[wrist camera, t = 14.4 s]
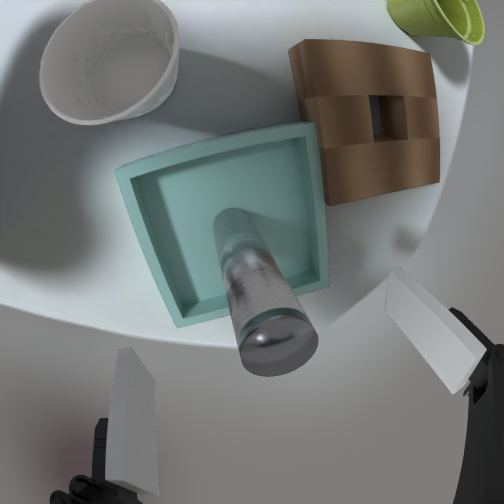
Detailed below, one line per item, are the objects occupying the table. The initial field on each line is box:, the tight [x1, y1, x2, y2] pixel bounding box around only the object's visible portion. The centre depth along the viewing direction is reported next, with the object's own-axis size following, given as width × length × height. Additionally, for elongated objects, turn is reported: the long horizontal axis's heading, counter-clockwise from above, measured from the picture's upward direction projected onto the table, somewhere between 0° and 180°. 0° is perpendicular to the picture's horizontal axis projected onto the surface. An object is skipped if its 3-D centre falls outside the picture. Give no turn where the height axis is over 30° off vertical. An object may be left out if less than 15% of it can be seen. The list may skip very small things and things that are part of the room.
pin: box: [212, 208, 318, 377], centre depth 18 cm, size 4×4×15 cm
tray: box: [115, 122, 330, 328], centre depth 24 cm, size 16×16×3 cm
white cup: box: [39, 0, 179, 125], centre depth 13 cm, size 8×8×10 cm
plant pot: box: [387, 0, 485, 45], centre depth 14 cm, size 9×9×9 cm
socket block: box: [288, 39, 440, 206], centre depth 21 cm, size 14×14×4 cm
